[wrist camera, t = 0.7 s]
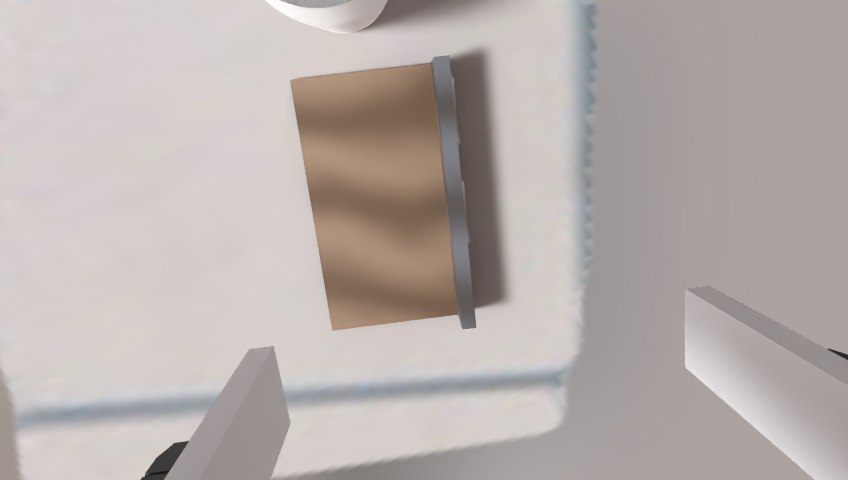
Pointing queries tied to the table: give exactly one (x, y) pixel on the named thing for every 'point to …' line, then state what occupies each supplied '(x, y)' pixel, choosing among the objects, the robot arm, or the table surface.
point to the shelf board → (387, 193)
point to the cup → (332, 13)
